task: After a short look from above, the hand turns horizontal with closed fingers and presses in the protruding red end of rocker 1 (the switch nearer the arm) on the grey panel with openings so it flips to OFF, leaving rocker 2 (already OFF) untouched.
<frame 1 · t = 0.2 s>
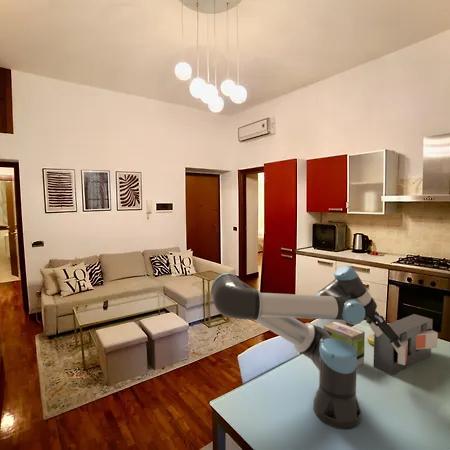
hand: (389, 343, 113), 16 cm above the table, tool tilted 35°, fingers open, 13 cm apart
tea box: (343, 359, 132), on the table
rocker 1: (403, 350, 122), point 9 cm above the table, hinge at 22.0°
grey panel with openings: (403, 360, 131), on the table
decorated donut: (378, 344, 147), on the table
rocker 2: (423, 340, 132), point 9 cm above the table, hinge at -22.0°
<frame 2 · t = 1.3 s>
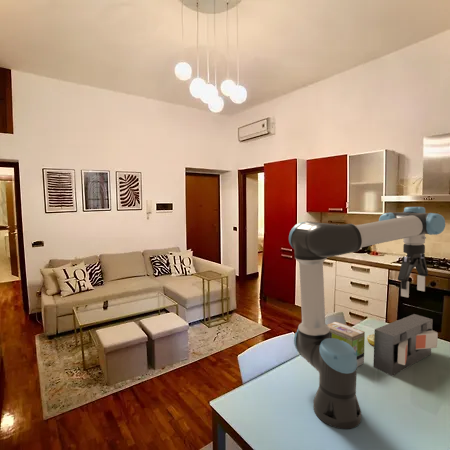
hand: (413, 293, 121), 34 cm above the table, tool pointing down, fingers open, 13 cm apart
nothing on the table moved.
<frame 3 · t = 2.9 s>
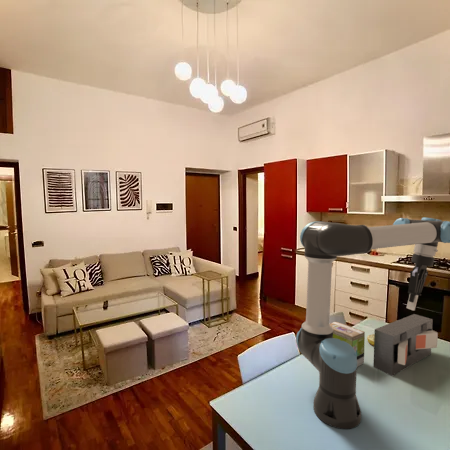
hand: (410, 309, 121), 27 cm above the table, tool pointing down, fingers closed
nothing on the table moved.
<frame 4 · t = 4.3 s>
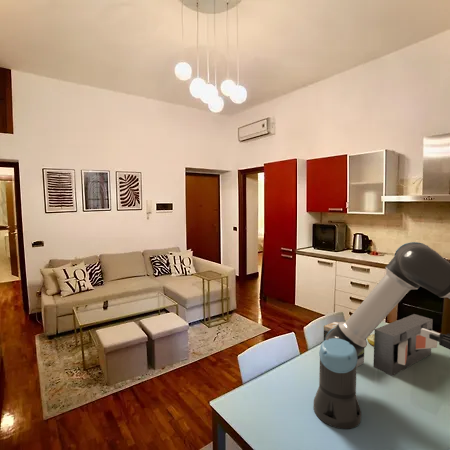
hand: (421, 331, 112), 21 cm above the table, tool horizontal, fingers closed
nothing on the table moved.
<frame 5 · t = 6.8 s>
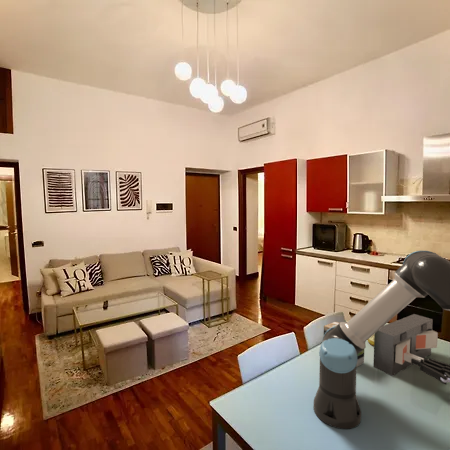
hand: (405, 355, 118), 9 cm above the table, tool horizontal, fingers closed, pressing on rocker 1
rocker 1: (403, 350, 122), point 9 cm above the table, hinge at 13.3°, touching gripper
everything else where it was.
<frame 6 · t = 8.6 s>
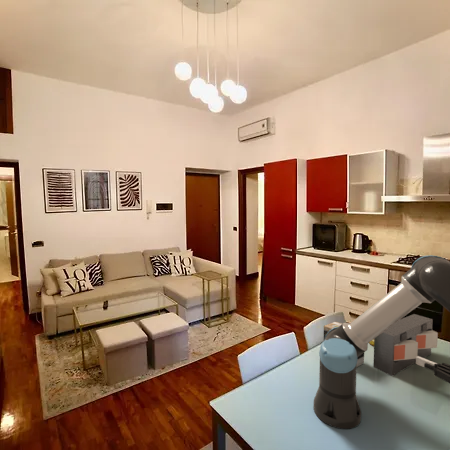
hand: (417, 359, 114), 9 cm above the table, tool horizontal, fingers closed
rocker 1: (403, 350, 122), point 9 cm above the table, hinge at -21.4°
everything else where it was.
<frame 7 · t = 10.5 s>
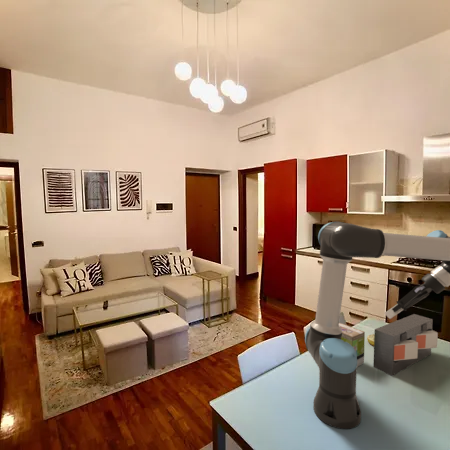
hand: (387, 316, 118), 25 cm above the table, tool tilted 45°, fingers closed
nothing on the table moved.
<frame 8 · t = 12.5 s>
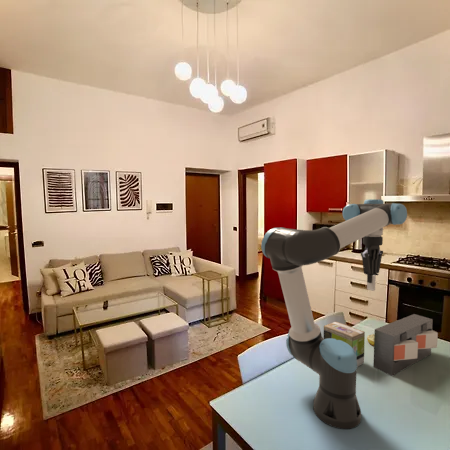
hand: (371, 289, 124), 34 cm above the table, tool pointing down, fingers closed
nothing on the table moved.
at the end: rocker 1 at -22° (first picture: +22°); rocker 2 at -22° (first picture: -22°); rocker 1 touching nothing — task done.
